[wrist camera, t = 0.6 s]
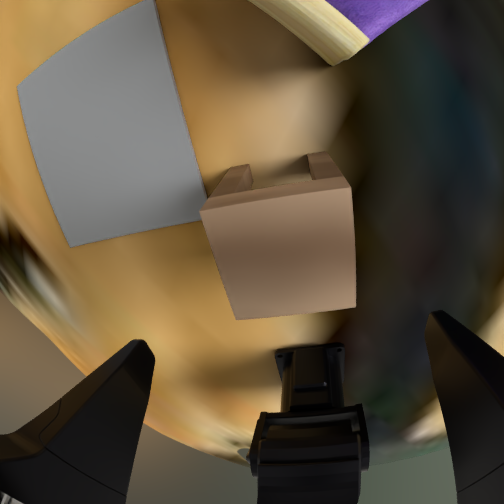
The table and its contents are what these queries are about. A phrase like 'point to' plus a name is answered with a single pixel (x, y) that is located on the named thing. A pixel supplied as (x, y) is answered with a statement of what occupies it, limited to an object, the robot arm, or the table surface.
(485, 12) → the table surface
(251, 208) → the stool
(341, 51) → the toy sofa
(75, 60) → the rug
